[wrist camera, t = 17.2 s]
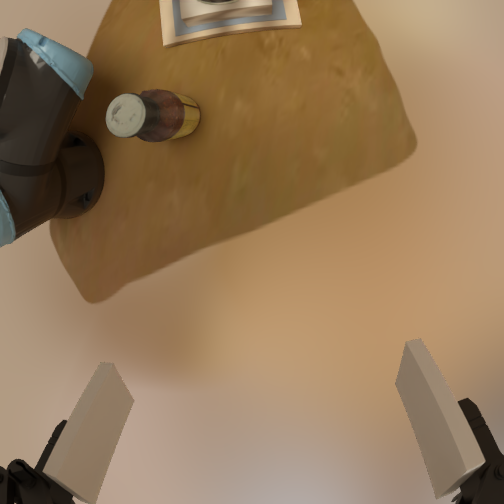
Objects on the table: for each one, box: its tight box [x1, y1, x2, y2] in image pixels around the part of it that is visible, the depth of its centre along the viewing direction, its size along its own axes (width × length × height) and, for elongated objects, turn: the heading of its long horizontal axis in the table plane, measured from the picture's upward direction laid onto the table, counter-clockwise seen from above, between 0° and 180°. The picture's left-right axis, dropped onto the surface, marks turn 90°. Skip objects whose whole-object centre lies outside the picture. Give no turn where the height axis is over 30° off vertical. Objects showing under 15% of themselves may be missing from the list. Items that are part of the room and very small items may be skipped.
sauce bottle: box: [106, 89, 200, 142], centre depth 30 cm, size 7×6×20 cm
